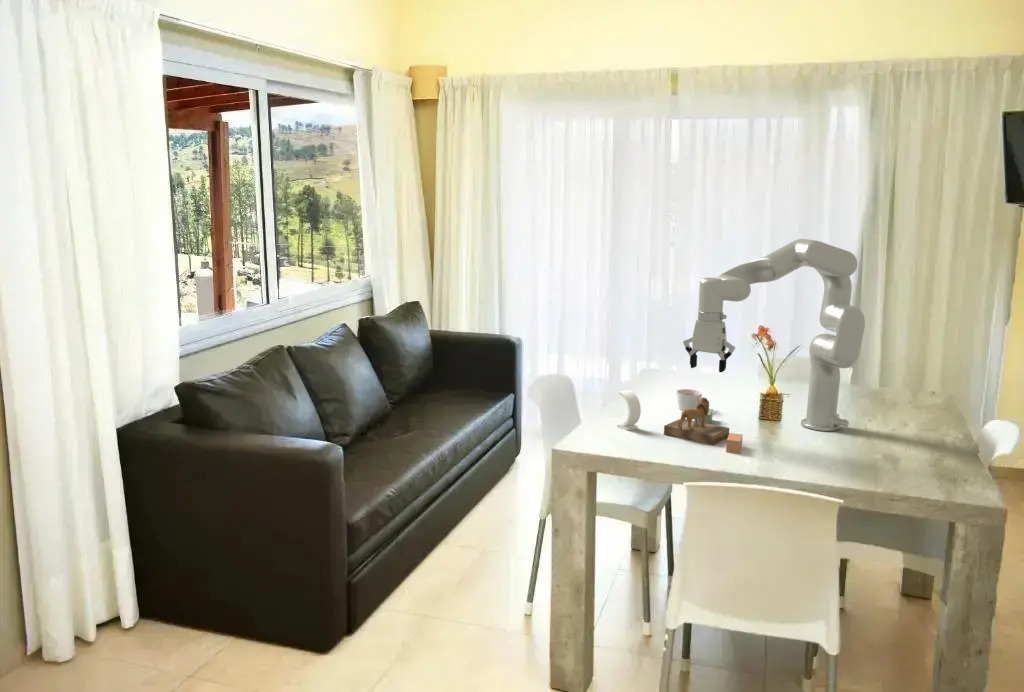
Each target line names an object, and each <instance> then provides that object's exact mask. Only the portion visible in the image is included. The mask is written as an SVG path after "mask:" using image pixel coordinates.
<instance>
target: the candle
mask: <svg viewBox="0 0 1024 692" xmlns="http://www.w3.org/2000/svg"><path fill="white" fill-rule="evenodd" d="M676 397H677V406H678V409H679V410H680V411H683V410H684V409H686V408H691V409H693V408H696V406H697V402H698V399H699V398H701V397H703V392H702V391H700V390H697V389H692V388H691V389H689V388H686V389H685V388H684V389H683V388H682V389H677V390H676Z"/></svg>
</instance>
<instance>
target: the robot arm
mask: <svg viewBox="0 0 1024 692" xmlns="http://www.w3.org/2000/svg"><path fill="white" fill-rule="evenodd" d="M802 267H810V268H814V270H816V272H817V273H818V275H820V276H821V279H822V281H823V286H824V287H823V296H822V302H821V308H820V311H819V323H820V326H821V327H823V329H825V330H829V331H831V332H835V333H836V334H835V335H833V334H830V333H819V334H817V335H816V336H814V337H813V338H812V339H811V342H810V345H809V348H808V349H809V359H810V360H809V361H810V369H809V372H810V374H809V382H808V384H809V385H808V392H807V393H808V395H807V405H806V406H807V407H806V415H805V416H806V417H805V418H803V419H801V421H800V425H801V426H802V427H804V428H807V429H810V430H814V431H821V432H835V431H839V430H840V429H841V426H842V427H849V424H850V421H849V420H848V419H844V418H841V417H840V414H839V413H837V412H838V405H839V404H838V402H839V395H840V394H839V392H840V383H841V370H840V369H849V368H851V367H853V366H854V365H855V364H856V363H857V361H858V359H859V357H860V352H861V347H862V344H863V343H862V342H863V338H864V332H865V327H866V321H865V315H864V313H863V311H862V310H861V309H860V308H858V307H857V306H856V305H855V306H854V305H851V298H852V291H853V287H852V286H853V285H852V284H853V283H852V280H851V277H850V276H852V275H854V273H855V272H856V271H857V268H858V260H857V256H856V255H854V253H852V252H851V251H849V250H847V249H844V248H840V247H836V246H834V245H831V244H829V243H825V242H823V241H819V240H815V239H814V240H813V239H807V238H799V239H794V240H793V241H791V242H789V243H788V244H785V245H784V246H782V247H780V248H777V249H775V251H773V252H771V253H769V254H767V255H765V256H763V257H760V258H756V259H752V260H751V261H748V262H743V263H741V264H739V265H736V266H734V267H731V268H730V269H728V270H726V271H725V272H723V273H721V274H719V275H718V276H717V277H704V278H701V280H700V282H699V289H698V290H699V291H698V292H699V293H698V315H697V320H696V321H695V323H694V324H695V325H694V327H693V334H692V337H690V338H688V339H685V340H683V342H682V343H683V346H684V349H685V351H686V352H687V353H688V355H689V365H690V369H694V368H697V366H698V355H697V353H698V352H702V353H708V354H717V355H718V356H719V358H720V360H719V362H718V372H719V373H724V372H725V370H726V369H727V360H728V358H729V357H732V355H733V353H734V351H735V350H736V346H734V345H733V344H732V343H730V342H728V341H727V329H726V323H725V321H724V320H726V319H727V316H728V315H726V314H724V312H723V310H724V308H723V307H724V301H727V302H728V301H729V302H743V301H745V300H746V299H748V298H749V296H750V295H751V293H752V292H751V290H752V288H751V285H754V284H759V283H770V282H774V281H778V280H780V279H781V278H784V277H786V276H787V275H789V274H790V273H792V272H794V271H796V270H798V269H800V268H802ZM690 344H691V346H690ZM727 349H728V351H727V352H726V350H727Z"/></svg>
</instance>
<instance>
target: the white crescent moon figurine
mask: <svg viewBox="0 0 1024 692" xmlns="http://www.w3.org/2000/svg"><path fill="white" fill-rule="evenodd" d="M618 395H619V396H621V397H622V398H623V399H624V400H625V402H626V405H627V411H628V414H627V417H626V418H627V419H626V420H625V421H624V422H621V423H617V427H618V428H619V429H622V430H625V431H631V430H637V429H638V428H639V426H638V425H636V424H637V423H638V422H639V420H640V417H641V413H642V412H641V411H642V410H641V402H640V399H639V398H638V396H637V395H636V393H635V392H634V391H632V390H630V389H628V390H620V391H618Z"/></svg>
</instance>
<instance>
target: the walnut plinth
mask: <svg viewBox="0 0 1024 692" xmlns="http://www.w3.org/2000/svg"><path fill="white" fill-rule="evenodd" d="M680 419H681V418H679V419H676V420H674V421H672V422H670V423H668V424H665V425H664V427H663V435H664V436H668V437H673V438H678V439H682V440H686V441H692V442H695V443H701V444H706V445H709V446H714V445H717V444H719V443H720V442H722V441H724V440H727V438H728V436H729V433H730V427H726V426H722V425H718V424H712V423H710V424H707V423H704V425H705V427H702V426H701V422H698V420H697V423H698V425H694V421H695V420H694V419H692V422H691V427H692V428H694V430H690V429H689V427H688V421H687V418H685V419H684V421H683V422H682V430H680V429H678V422H679V421H680Z"/></svg>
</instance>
